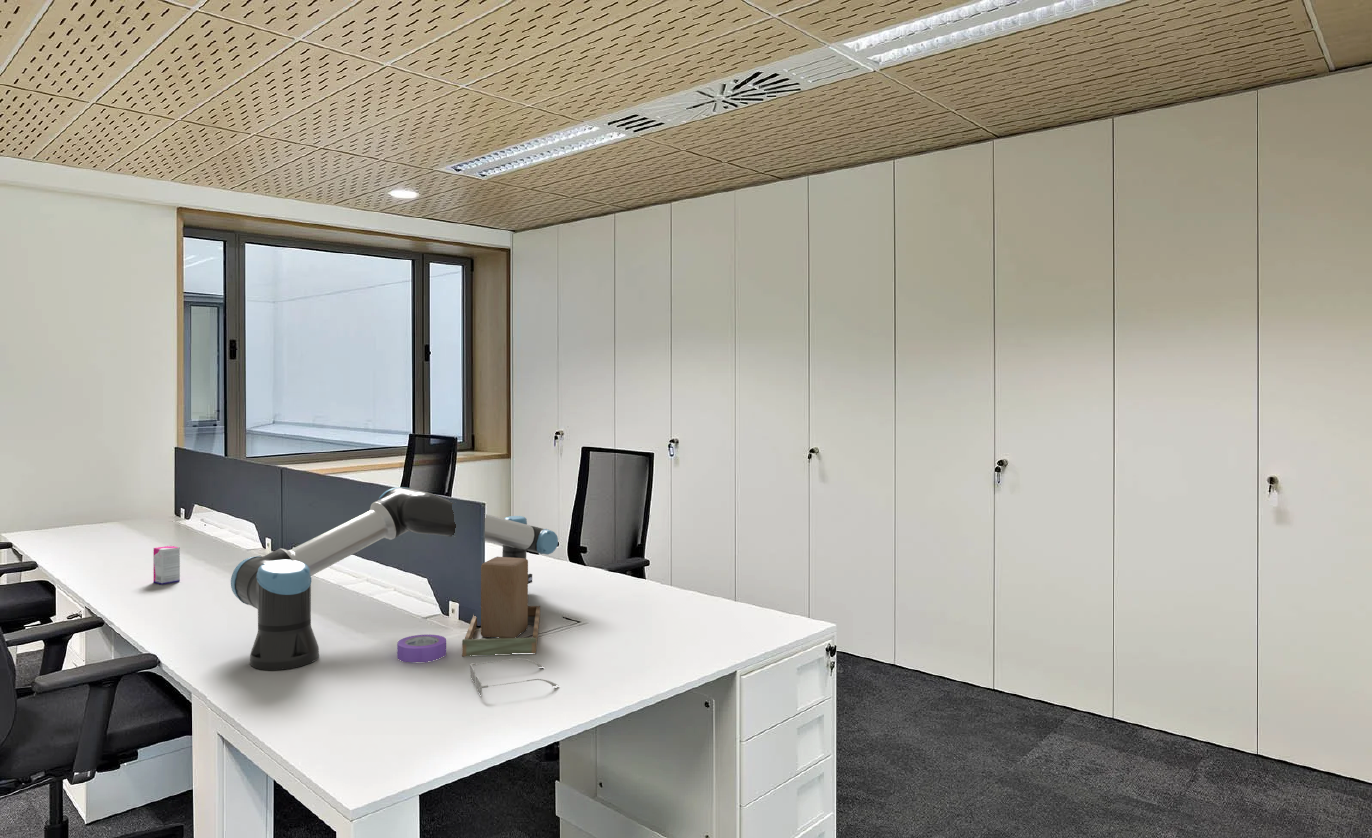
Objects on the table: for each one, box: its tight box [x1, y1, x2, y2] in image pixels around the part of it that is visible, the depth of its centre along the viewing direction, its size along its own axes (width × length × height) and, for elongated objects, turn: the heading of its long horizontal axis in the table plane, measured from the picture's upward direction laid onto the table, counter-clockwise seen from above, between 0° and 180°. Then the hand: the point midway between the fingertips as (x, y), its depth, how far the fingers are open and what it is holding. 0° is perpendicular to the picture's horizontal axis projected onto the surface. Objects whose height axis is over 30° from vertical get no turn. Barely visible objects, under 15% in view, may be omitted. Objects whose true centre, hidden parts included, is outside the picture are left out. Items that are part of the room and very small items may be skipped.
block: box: [480, 556, 529, 638], centre depth 231 cm, size 10×10×20 cm
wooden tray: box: [461, 605, 541, 657], centre depth 230 cm, size 34×18×4 cm, turn 8°
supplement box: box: [153, 545, 181, 586], centre depth 280 cm, size 6×6×12 cm
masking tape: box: [396, 634, 447, 663], centre depth 213 cm, size 12×12×4 cm
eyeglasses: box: [469, 657, 558, 696], centre depth 195 cm, size 15×18×4 cm
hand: (507, 592), depth 240 cm, fingers closed
